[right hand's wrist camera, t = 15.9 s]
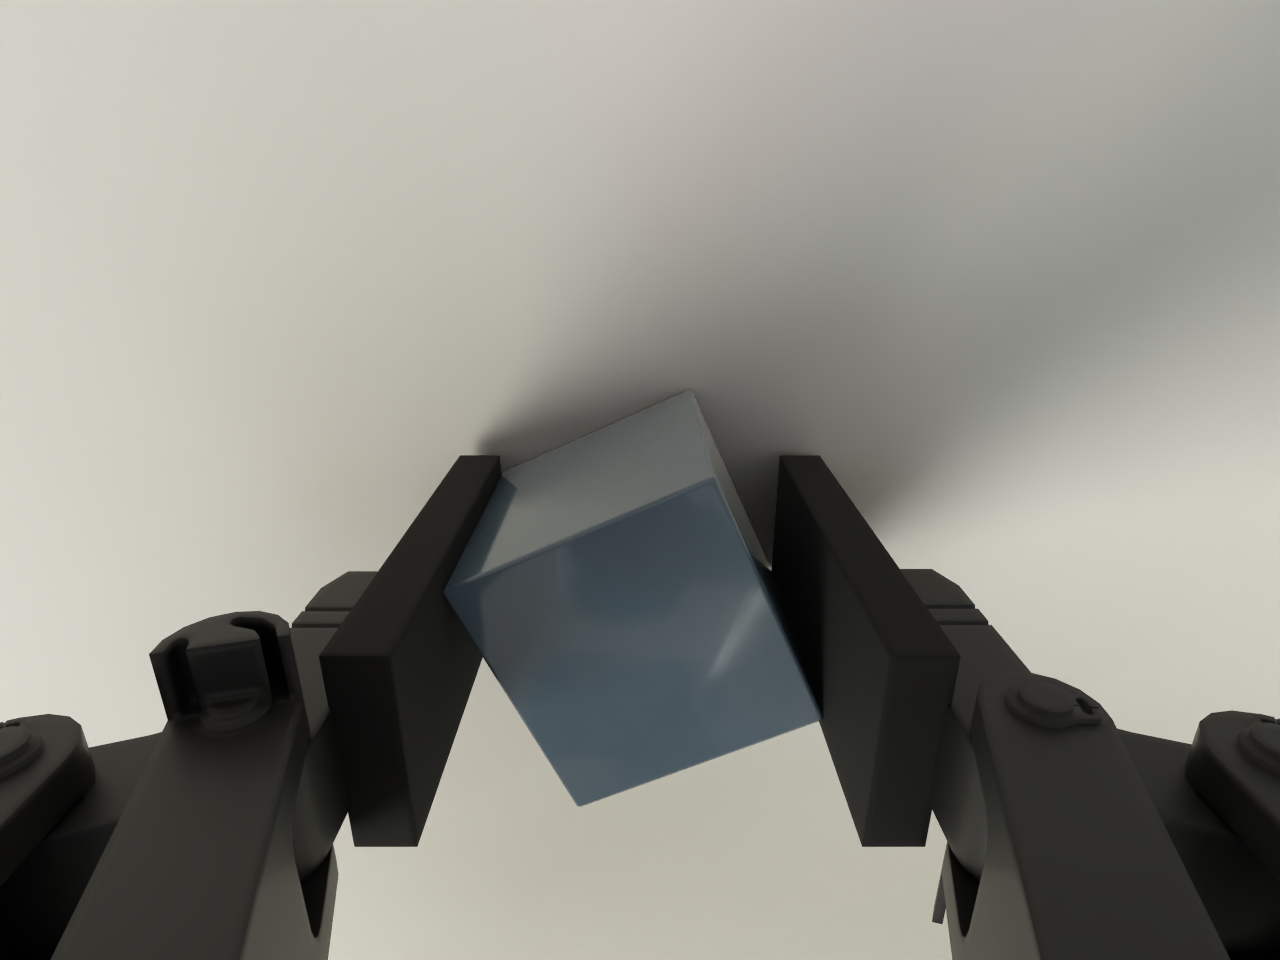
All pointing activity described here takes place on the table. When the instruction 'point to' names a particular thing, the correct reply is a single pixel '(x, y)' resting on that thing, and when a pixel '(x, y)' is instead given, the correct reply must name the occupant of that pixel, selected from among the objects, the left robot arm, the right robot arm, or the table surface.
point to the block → (631, 605)
